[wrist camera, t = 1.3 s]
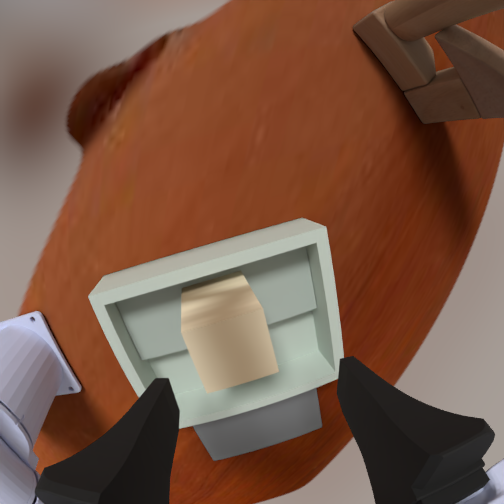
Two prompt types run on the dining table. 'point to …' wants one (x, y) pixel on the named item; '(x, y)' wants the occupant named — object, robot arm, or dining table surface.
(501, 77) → the wooden block structure
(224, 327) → the birch block
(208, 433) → the mat
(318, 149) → the dining table surface
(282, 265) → the box
